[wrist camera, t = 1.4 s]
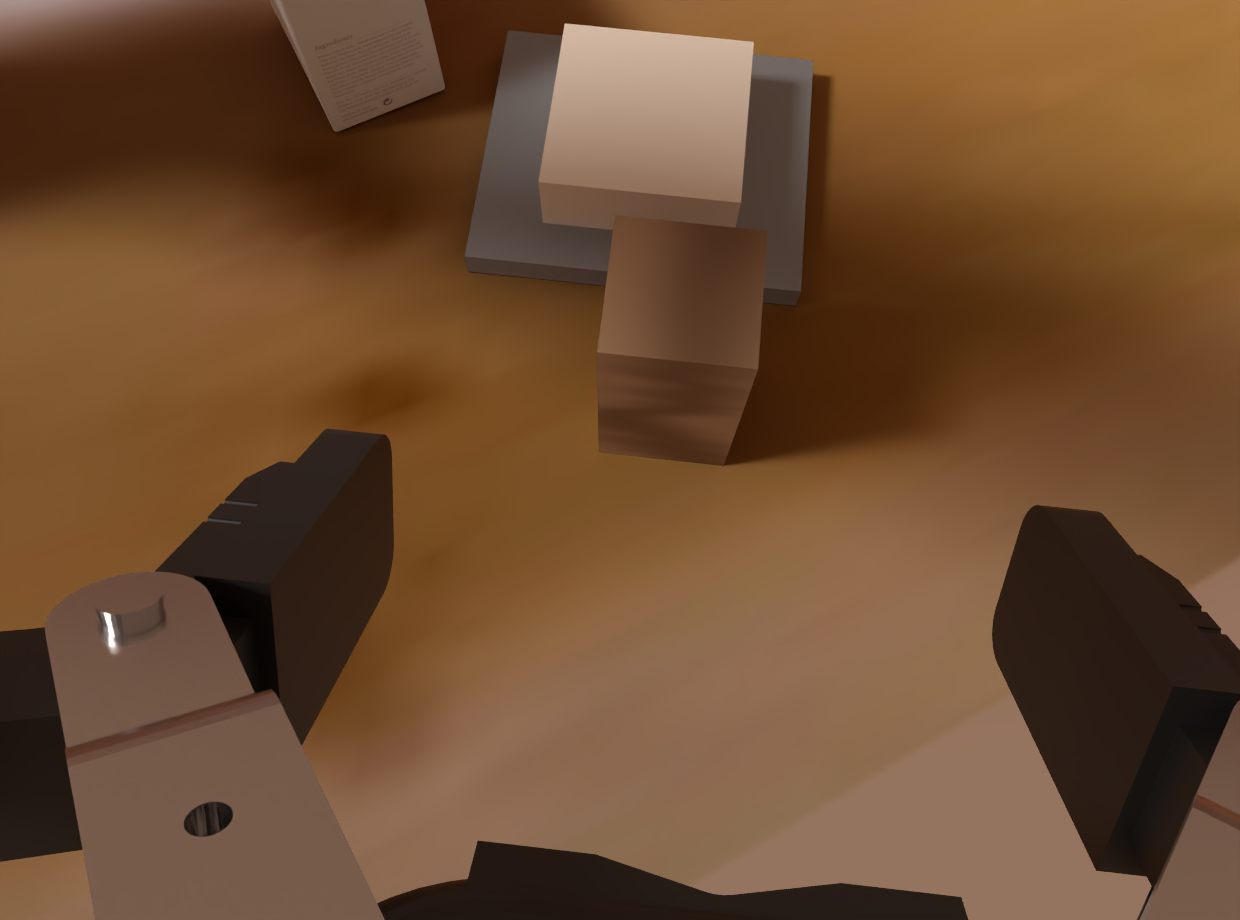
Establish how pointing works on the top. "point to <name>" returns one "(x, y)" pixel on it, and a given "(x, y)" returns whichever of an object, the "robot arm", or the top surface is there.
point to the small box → (363, 54)
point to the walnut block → (678, 338)
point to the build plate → (591, 249)
